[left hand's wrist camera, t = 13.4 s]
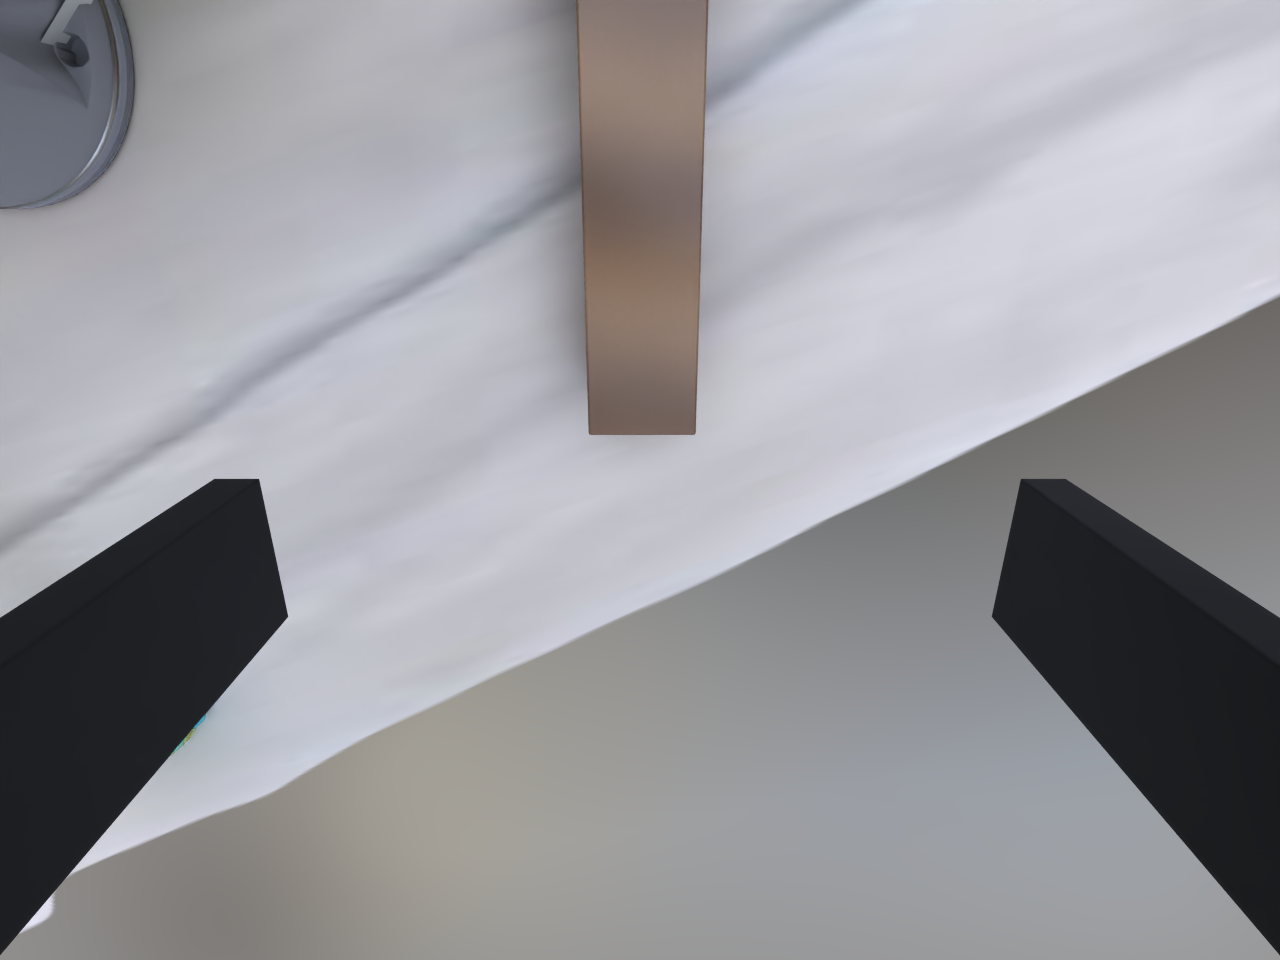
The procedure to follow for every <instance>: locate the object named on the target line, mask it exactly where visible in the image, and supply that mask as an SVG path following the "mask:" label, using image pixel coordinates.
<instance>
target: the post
mask: <svg viewBox="0 0 1280 960" xmlns="http://www.w3.org/2000/svg"><path fill="white" fill-rule="evenodd" d="M576 4H577V38H578V73H579V108H580V143H581V178H582V213H583V248H584V283H585V318H586V353H587V388H588V423H589V434H590V435H694V434H695V433H696V400H697V366H698V332H699V298H700V264H701V230H702V196H703V162H704V129H705V95H706V61H707V27H708V0H576Z"/></svg>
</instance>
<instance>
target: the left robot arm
mask: <svg viewBox="0 0 1280 960" xmlns="http://www.w3.org/2000/svg"><path fill="white" fill-rule="evenodd" d="M133 90H134V74H133V60H132V53H131V46H130V41H129V37H128V32H127V28H126V24H125V21H124V18H123V14H122V11H121V8H120V6H119V3H118V1H117V0H0V209H25V208H35V207H42V206H46V205H51V204H54V203H57V202H60V201H63V200H66V199H68V198H70V197H72V196H74V195H76V194H78V193H79V192H81V191H82V190H84V189H85V188H87V187H88V186H89V185H91V184H92V183H93V182H94V181H95V180H96V179H97V178H99V176H100V175H101V174H102V173H103V172H104V171H105V170H106V169H107V167H108V166H109V164H110V163H111V162H112V160H113V159H114V157H115V156H116V154H117V152H118V150H119V148H120V146H121V144H122V141H123V139H124V136H125V133H126V131H127V128H128V124H129V120H130V116H131V110H132V103H133ZM287 617H288V614H287V609H286V604H285V599H284V595H283V590H282V585H281V581H280V576H279V571H278V566H277V562H276V557H275V552H274V548H273V543H272V538H271V533H270V529H269V524H268V519H267V515H266V510H265V505H264V500H263V496H262V491H261V486H260V481H259V479H214V480H212V481H211V482H209V483H208V484H206V485H205V486H203V487H201V488H200V489H198V490H197V491H195V492H194V493H192V494H191V495H189V496H188V497H186V498H184V499H183V500H181V501H180V502H178V503H177V504H175V505H174V506H172V507H171V508H169V509H167V510H166V511H164V512H163V513H161V514H160V515H158V516H157V517H155V518H154V519H152V520H151V521H149V522H147V523H146V524H144V525H143V526H141V527H140V528H138V529H137V530H135V531H134V532H132V533H130V534H129V535H127V536H126V537H124V538H123V539H121V540H120V541H118V542H117V543H115V544H113V545H112V546H110V547H109V548H107V549H106V550H104V551H103V552H101V553H100V554H98V555H97V556H95V557H93V558H92V559H90V560H89V561H87V562H86V563H84V564H83V565H81V566H80V567H78V568H76V569H75V570H73V571H72V572H70V573H69V574H67V575H66V576H64V577H63V578H61V579H59V580H58V581H56V582H55V583H53V584H52V585H50V586H49V587H47V588H46V589H44V590H43V591H41V592H39V593H38V594H36V595H35V596H33V597H32V598H30V599H29V600H27V601H26V602H24V603H22V604H21V605H19V606H18V607H16V608H15V609H13V610H12V611H10V612H9V613H7V614H5V615H4V616H2V617H1V618H0V955H1V954H2V952H3V951H4V950H5V949H6V948H7V946H8V945H9V944H10V943H11V942H12V941H13V939H14V938H15V937H16V936H17V935H18V934H19V932H20V931H21V930H22V929H23V928H24V927H25V925H26V924H27V923H28V922H29V921H30V919H31V918H32V917H33V916H34V915H35V914H36V912H37V911H38V910H39V909H40V908H41V907H42V905H43V904H44V903H45V902H46V901H47V899H48V898H49V897H50V896H51V895H52V894H53V892H54V891H55V890H56V889H57V888H58V887H59V885H60V884H61V883H62V882H63V881H64V879H65V878H66V877H67V876H68V875H69V874H70V872H71V871H72V870H73V869H74V868H75V867H76V865H77V864H78V863H79V862H80V861H81V860H82V858H83V857H84V856H85V855H86V854H87V852H88V851H89V850H90V849H91V848H92V847H93V845H94V844H95V843H96V842H97V841H98V840H99V838H100V837H101V836H102V835H103V834H104V833H105V831H106V830H107V829H108V828H109V827H110V825H111V824H112V823H113V822H114V821H115V820H116V818H117V817H118V816H119V815H120V814H121V813H122V811H123V810H124V809H125V808H126V807H127V805H128V804H129V803H130V802H131V801H132V800H133V798H134V797H135V796H136V795H137V794H138V793H139V791H140V790H141V789H142V788H143V787H144V786H145V784H146V783H147V782H148V781H149V780H150V778H151V777H152V776H153V775H154V774H155V773H156V771H157V770H158V769H159V768H160V767H161V766H162V764H163V763H164V762H165V761H166V760H167V758H168V757H169V756H170V755H171V754H172V753H173V751H174V750H175V749H176V748H177V747H178V746H179V744H180V743H181V742H182V741H183V740H184V738H185V737H186V736H187V735H188V734H189V733H190V731H191V730H192V729H193V728H194V727H195V726H196V724H197V723H198V722H199V721H200V720H201V719H202V717H203V716H204V715H205V714H206V713H207V711H208V710H209V709H210V708H211V707H212V706H213V704H214V703H215V702H216V701H217V700H218V699H219V697H220V696H221V695H222V694H223V693H224V691H225V690H226V689H227V688H228V687H229V686H230V684H231V683H232V682H233V681H234V680H235V679H236V677H237V676H238V675H239V674H240V673H241V672H242V670H243V669H244V668H245V667H246V666H247V664H248V663H249V662H250V661H251V660H252V659H253V657H254V656H255V655H256V654H257V653H258V652H259V650H260V649H261V648H262V647H263V646H264V644H265V643H266V642H267V641H268V640H269V639H270V637H271V636H272V635H273V634H274V633H275V632H276V630H277V629H278V628H279V627H280V626H281V625H282V623H283V622H284V621H285V620H286V619H287ZM992 617H993V619H994V620H995V621H996V622H997V623H998V624H999V626H1000V627H1001V628H1002V629H1003V630H1004V632H1005V633H1006V634H1007V635H1008V636H1009V637H1010V639H1011V640H1012V641H1013V642H1014V643H1015V644H1016V646H1017V647H1018V648H1019V649H1020V650H1021V652H1022V653H1023V654H1024V655H1025V656H1026V657H1027V659H1028V660H1029V661H1030V662H1031V663H1032V664H1033V666H1034V667H1035V668H1036V669H1037V670H1038V671H1039V673H1040V674H1041V675H1042V676H1043V677H1044V679H1045V680H1046V681H1047V682H1048V683H1049V684H1050V686H1051V687H1052V688H1053V689H1054V690H1055V691H1056V693H1057V694H1058V695H1059V696H1060V697H1061V699H1062V700H1063V701H1064V702H1065V703H1066V704H1067V706H1068V707H1069V708H1070V709H1071V710H1072V711H1073V713H1074V714H1075V715H1076V716H1077V717H1078V719H1079V720H1080V721H1081V722H1082V723H1083V724H1084V725H1085V727H1086V728H1087V729H1088V730H1089V731H1090V733H1091V734H1092V735H1093V736H1094V737H1095V738H1096V740H1097V741H1098V742H1099V743H1100V744H1101V746H1102V747H1103V748H1104V749H1105V750H1106V751H1107V753H1108V754H1109V755H1110V756H1111V757H1112V758H1113V760H1114V761H1115V762H1116V763H1117V764H1118V765H1119V767H1120V768H1121V769H1122V770H1123V771H1124V773H1125V774H1126V775H1127V776H1128V777H1129V778H1130V780H1131V781H1132V782H1133V783H1134V784H1135V785H1136V787H1137V788H1138V789H1139V790H1140V791H1141V792H1142V794H1143V795H1144V796H1145V797H1146V798H1147V800H1148V801H1149V802H1150V803H1151V804H1152V805H1153V807H1154V808H1155V809H1156V810H1157V811H1158V813H1159V814H1160V815H1161V816H1162V817H1163V818H1164V820H1165V821H1166V822H1167V823H1168V824H1169V825H1170V827H1171V828H1172V829H1173V830H1174V831H1175V832H1176V834H1177V835H1178V836H1179V837H1180V838H1181V839H1182V841H1183V842H1184V843H1185V844H1186V845H1187V847H1188V848H1189V849H1190V850H1191V851H1192V852H1193V854H1194V855H1195V856H1196V857H1197V858H1198V860H1199V861H1200V862H1201V863H1202V864H1203V865H1204V867H1205V868H1206V869H1207V870H1208V871H1209V872H1210V874H1211V875H1212V876H1213V877H1214V878H1215V879H1216V881H1217V882H1218V883H1219V884H1220V885H1221V887H1222V888H1223V889H1224V890H1225V891H1226V892H1227V894H1228V895H1229V896H1230V897H1231V898H1232V899H1233V901H1234V902H1235V903H1236V904H1237V905H1238V906H1239V908H1240V909H1241V910H1242V911H1243V912H1244V914H1245V915H1246V916H1247V917H1248V918H1249V919H1250V921H1251V922H1252V923H1253V924H1254V925H1255V927H1256V928H1257V929H1258V930H1259V931H1260V932H1261V934H1262V935H1263V936H1264V937H1265V938H1266V939H1267V941H1268V942H1269V943H1270V944H1271V945H1272V946H1273V948H1274V949H1275V950H1276V951H1277V952H1278V954H1279V955H1280V618H1279V617H1278V616H1276V615H1275V614H1273V613H1271V612H1270V611H1268V610H1267V609H1265V608H1264V607H1262V606H1261V605H1259V604H1258V603H1256V602H1254V601H1253V600H1251V599H1250V598H1248V597H1247V596H1245V595H1244V594H1242V593H1241V592H1239V591H1237V590H1236V589H1234V588H1233V587H1231V586H1230V585H1228V584H1227V583H1225V582H1224V581H1222V580H1221V579H1219V578H1217V577H1216V576H1214V575H1213V574H1211V573H1210V572H1208V571H1207V570H1205V569H1203V568H1202V567H1200V566H1199V565H1197V564H1196V563H1194V562H1193V561H1191V560H1190V559H1188V558H1187V557H1185V556H1183V555H1182V554H1180V553H1179V552H1177V551H1176V550H1174V549H1173V548H1171V547H1170V546H1168V545H1167V544H1165V543H1163V542H1162V541H1160V540H1159V539H1157V538H1156V537H1154V536H1153V535H1151V534H1149V533H1148V532H1146V531H1145V530H1143V529H1142V528H1140V527H1139V526H1137V525H1136V524H1134V523H1133V522H1131V521H1129V520H1128V519H1126V518H1125V517H1123V516H1122V515H1120V514H1119V513H1117V512H1116V511H1114V510H1113V509H1111V508H1109V507H1108V506H1106V505H1105V504H1103V503H1102V502H1100V501H1099V500H1097V499H1095V498H1094V497H1092V496H1091V495H1089V494H1088V493H1086V492H1085V491H1083V490H1082V489H1080V488H1079V487H1077V486H1075V485H1074V484H1072V483H1071V482H1069V481H1068V480H1066V479H1021V482H1020V486H1019V491H1018V496H1017V500H1016V505H1015V510H1014V515H1013V519H1012V524H1011V529H1010V533H1009V538H1008V543H1007V548H1006V552H1005V557H1004V562H1003V567H1002V571H1001V576H1000V581H999V585H998V590H997V595H996V599H995V604H994V609H993V614H992Z"/></svg>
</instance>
